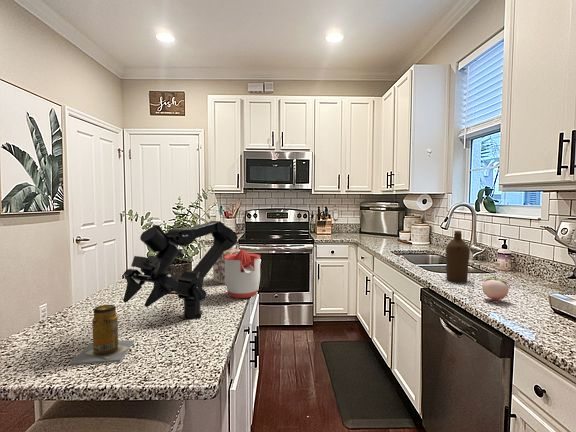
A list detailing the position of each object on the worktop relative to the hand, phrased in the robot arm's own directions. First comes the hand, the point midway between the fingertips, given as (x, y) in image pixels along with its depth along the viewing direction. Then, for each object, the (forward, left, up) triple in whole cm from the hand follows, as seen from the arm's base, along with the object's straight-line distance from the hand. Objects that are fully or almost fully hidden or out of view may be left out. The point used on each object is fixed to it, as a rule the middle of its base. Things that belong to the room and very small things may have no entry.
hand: (134, 304), depth 99 cm
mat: (+7, -6, -11) cm, 14 cm away
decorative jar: (-68, +26, -11) cm, 73 cm away
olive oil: (-51, +140, -11) cm, 149 cm away
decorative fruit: (-17, +133, -11) cm, 134 cm away
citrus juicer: (-41, +33, -11) cm, 53 cm away
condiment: (+8, -5, -10) cm, 14 cm away
